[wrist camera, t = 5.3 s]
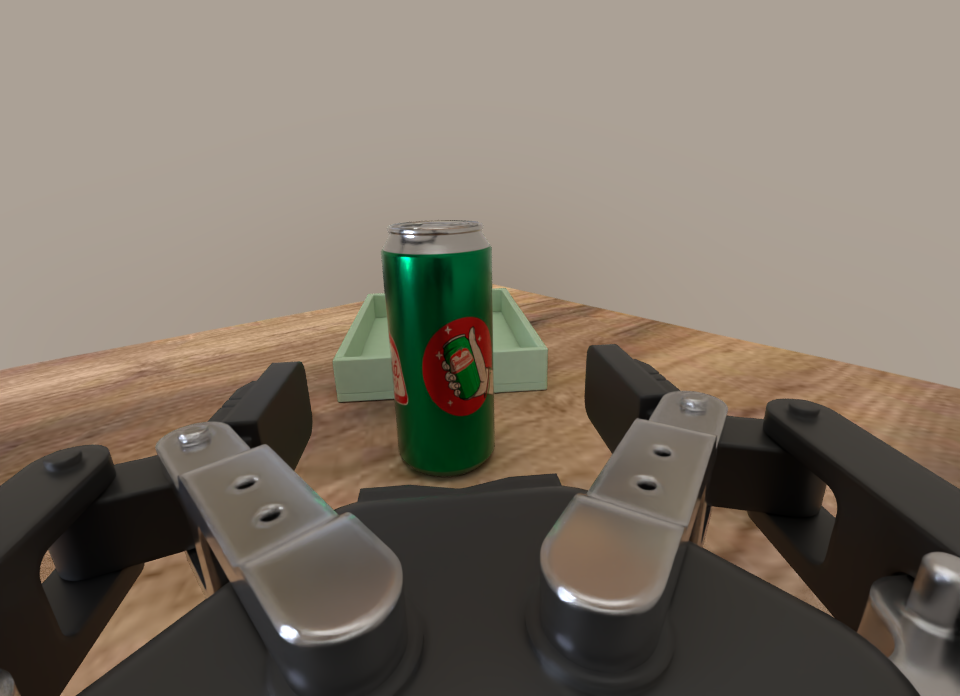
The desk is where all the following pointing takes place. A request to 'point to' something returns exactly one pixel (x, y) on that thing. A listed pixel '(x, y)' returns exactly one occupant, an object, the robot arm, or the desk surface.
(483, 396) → the soda can
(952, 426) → the desk surface
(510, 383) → the tray
